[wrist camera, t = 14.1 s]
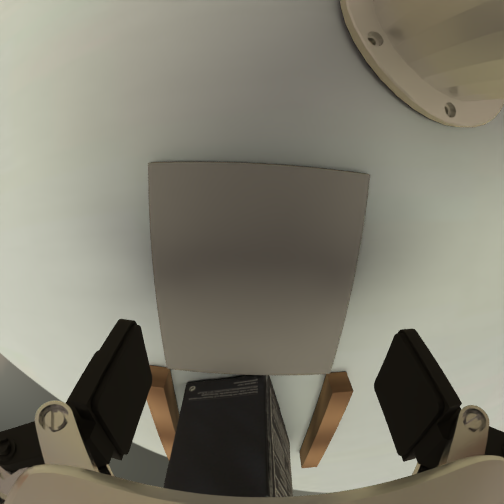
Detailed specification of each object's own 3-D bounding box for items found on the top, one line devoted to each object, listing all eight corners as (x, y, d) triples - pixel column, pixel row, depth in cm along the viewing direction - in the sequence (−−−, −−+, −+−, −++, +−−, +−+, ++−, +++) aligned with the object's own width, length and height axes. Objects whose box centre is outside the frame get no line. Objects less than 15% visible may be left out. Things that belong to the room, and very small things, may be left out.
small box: (179, 380, 19) (150, 509, 9) (268, 368, 18) (279, 512, 8) (223, 449, 22) (217, 542, 13) (290, 441, 22) (301, 538, 12)
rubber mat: (152, 162, 13) (148, 163, 13) (365, 173, 14) (370, 174, 13) (168, 362, 18) (167, 368, 17) (328, 367, 18) (329, 373, 18)
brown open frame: (149, 365, 18) (142, 384, 16) (346, 371, 18) (353, 391, 17) (172, 446, 22) (169, 462, 20) (314, 451, 23) (316, 466, 21)
